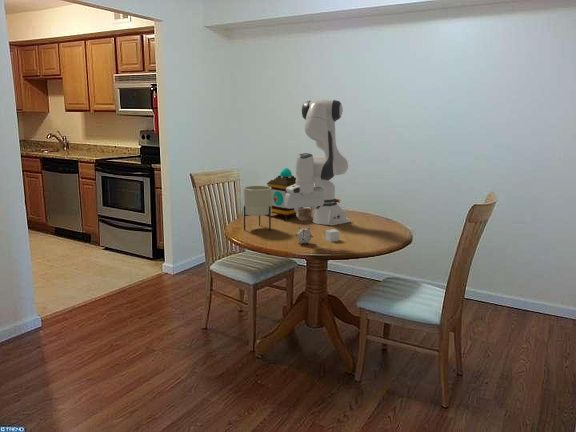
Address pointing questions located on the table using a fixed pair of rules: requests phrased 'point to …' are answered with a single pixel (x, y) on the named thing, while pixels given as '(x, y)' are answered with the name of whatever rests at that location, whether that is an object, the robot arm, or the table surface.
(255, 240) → the table surface
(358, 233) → the table surface
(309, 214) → the walnut block
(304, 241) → the game die
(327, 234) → the grey block
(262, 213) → the planter
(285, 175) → the decorative lantern
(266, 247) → the table surface
